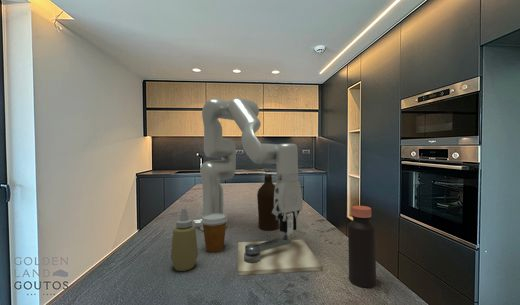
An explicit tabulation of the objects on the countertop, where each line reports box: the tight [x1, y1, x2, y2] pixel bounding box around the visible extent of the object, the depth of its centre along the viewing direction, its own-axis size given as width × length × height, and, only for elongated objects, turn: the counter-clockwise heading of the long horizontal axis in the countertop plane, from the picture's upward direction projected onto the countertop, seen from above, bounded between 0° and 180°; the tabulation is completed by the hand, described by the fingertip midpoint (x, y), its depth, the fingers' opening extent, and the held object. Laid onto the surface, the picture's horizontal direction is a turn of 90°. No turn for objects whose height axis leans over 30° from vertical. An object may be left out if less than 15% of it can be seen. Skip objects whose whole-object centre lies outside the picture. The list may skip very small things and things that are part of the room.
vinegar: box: [347, 205, 377, 289], centre depth 64 cm, size 7×7×20 cm
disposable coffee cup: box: [201, 213, 229, 253], centre depth 87 cm, size 10×10×12 cm
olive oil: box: [256, 173, 280, 231], centre depth 111 cm, size 11×11×25 cm
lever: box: [245, 212, 295, 256], centre depth 80 cm, size 19×4×12 cm, turn 123°
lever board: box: [237, 239, 324, 276], centre depth 80 cm, size 25×22×3 cm
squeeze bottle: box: [170, 208, 199, 272], centre depth 74 cm, size 8×8×18 cm
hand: (288, 229), depth 84 cm, fingers closed on lever, 3 cm apart
